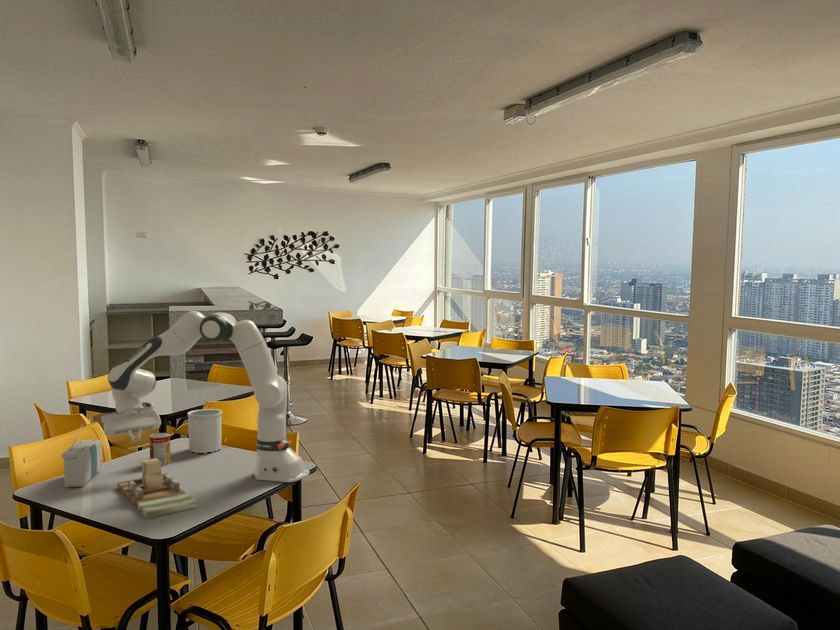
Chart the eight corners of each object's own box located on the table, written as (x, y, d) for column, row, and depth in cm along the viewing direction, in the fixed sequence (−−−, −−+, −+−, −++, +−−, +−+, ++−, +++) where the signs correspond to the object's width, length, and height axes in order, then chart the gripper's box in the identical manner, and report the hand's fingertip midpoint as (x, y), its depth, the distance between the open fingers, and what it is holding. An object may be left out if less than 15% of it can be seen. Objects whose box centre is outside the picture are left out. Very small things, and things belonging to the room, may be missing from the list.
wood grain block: (137, 487, 218) (136, 460, 217) (160, 482, 223) (159, 456, 223) (143, 493, 212) (143, 466, 211) (167, 488, 217) (166, 461, 216)
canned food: (168, 459, 259) (167, 432, 259) (171, 464, 253) (171, 436, 252) (148, 462, 255) (148, 434, 254) (151, 467, 249) (151, 438, 248)
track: (117, 487, 223) (117, 474, 223) (162, 479, 234) (162, 466, 234) (147, 518, 195) (147, 503, 195) (197, 507, 206) (196, 492, 205)
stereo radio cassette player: (85, 488, 223) (84, 434, 222) (61, 489, 221) (59, 435, 220) (103, 470, 243) (102, 421, 242) (80, 471, 242) (80, 422, 241)
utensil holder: (184, 448, 277) (183, 410, 276) (216, 443, 285) (216, 407, 285) (192, 456, 265) (192, 416, 264) (226, 451, 273) (226, 412, 272)
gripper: (101, 409, 230) (108, 440, 223) (157, 403, 243) (165, 431, 236) (98, 418, 233) (105, 449, 226) (154, 412, 246) (162, 440, 240)
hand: (136, 440), depth 231 cm, fingers closed
